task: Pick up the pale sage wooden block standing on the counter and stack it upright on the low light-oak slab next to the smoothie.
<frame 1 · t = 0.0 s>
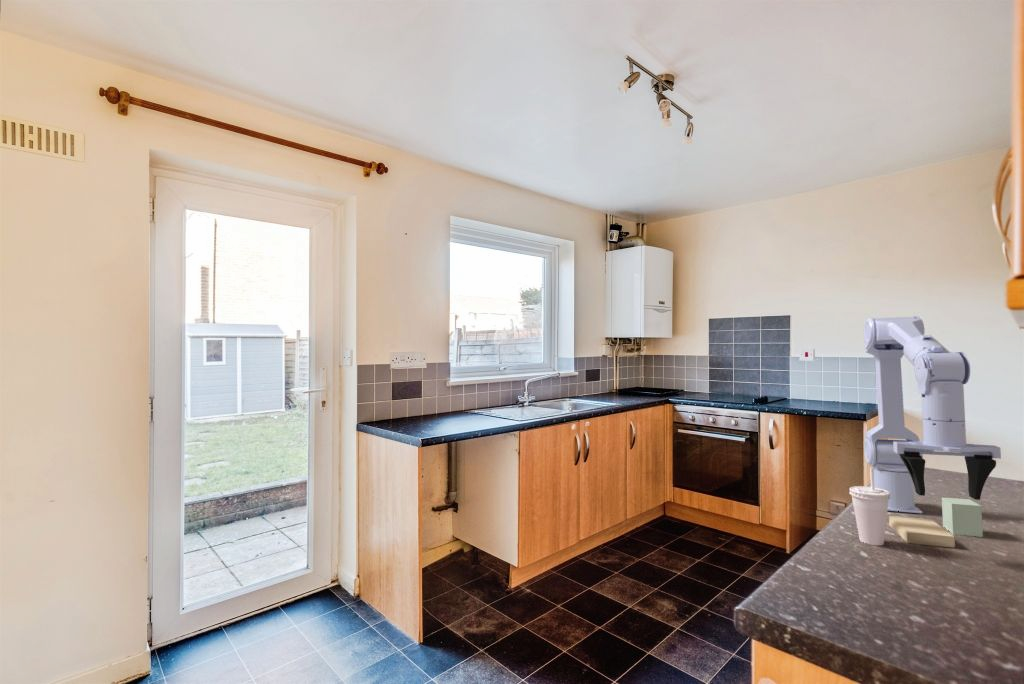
hand: (947, 496, 86), 10 cm above the counter, tool pointing down, fingers open, 7 cm apart
oak slab: (920, 535, 94), on the counter
sage block: (962, 532, 96), on the counter
smoothie: (871, 542, 92), on the counter
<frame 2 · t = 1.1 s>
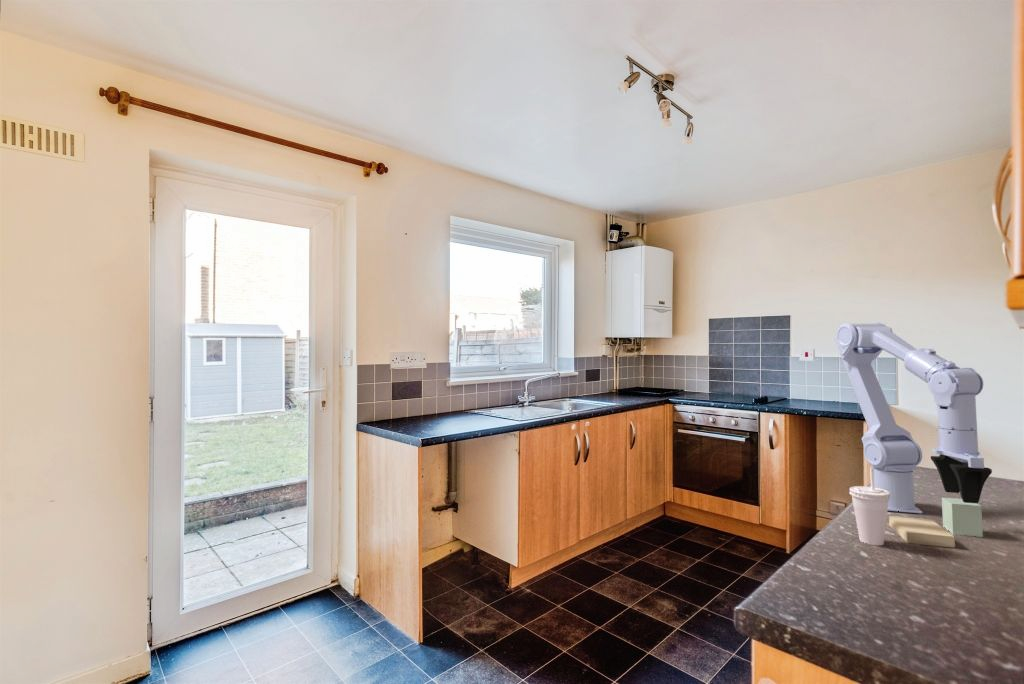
hand: (961, 497, 96), 7 cm above the counter, tool pointing down, fingers open, 7 cm apart
nothing on the counter moved.
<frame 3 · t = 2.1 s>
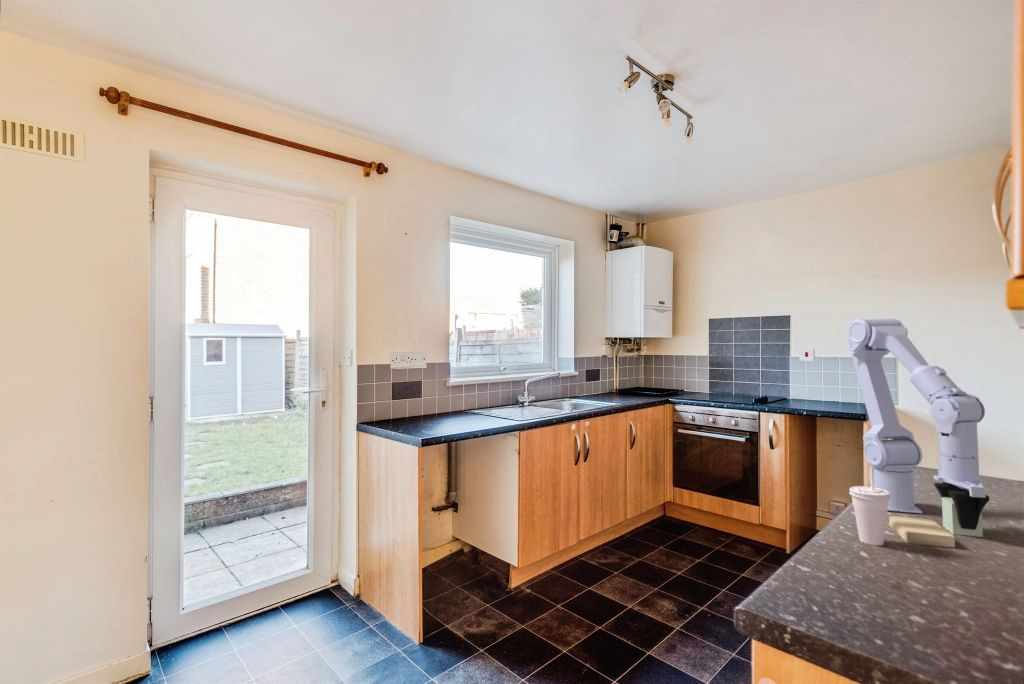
hand: (961, 524, 96), 1 cm above the counter, tool pointing down, fingers closed on sage block, 4 cm apart
sage block: (962, 531, 96), on the counter, touching gripper
everything else where it was.
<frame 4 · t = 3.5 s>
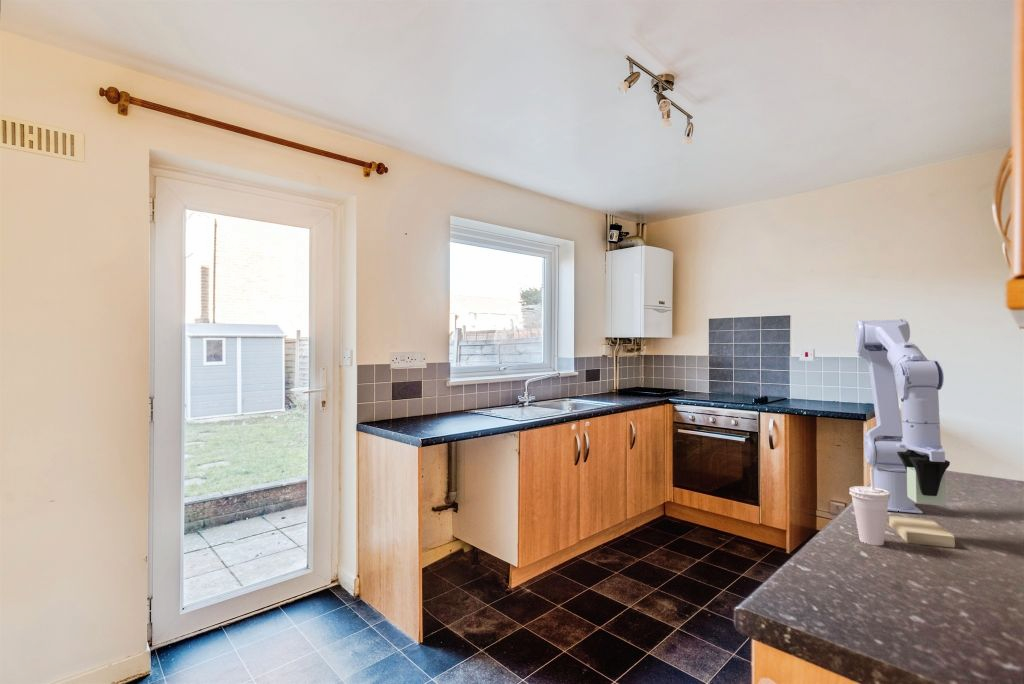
hand: (923, 491, 95), 8 cm above the counter, tool pointing down, fingers closed on sage block, 4 cm apart
sage block: (926, 501, 95), point 7 cm above the counter, touching gripper
everything else where it was.
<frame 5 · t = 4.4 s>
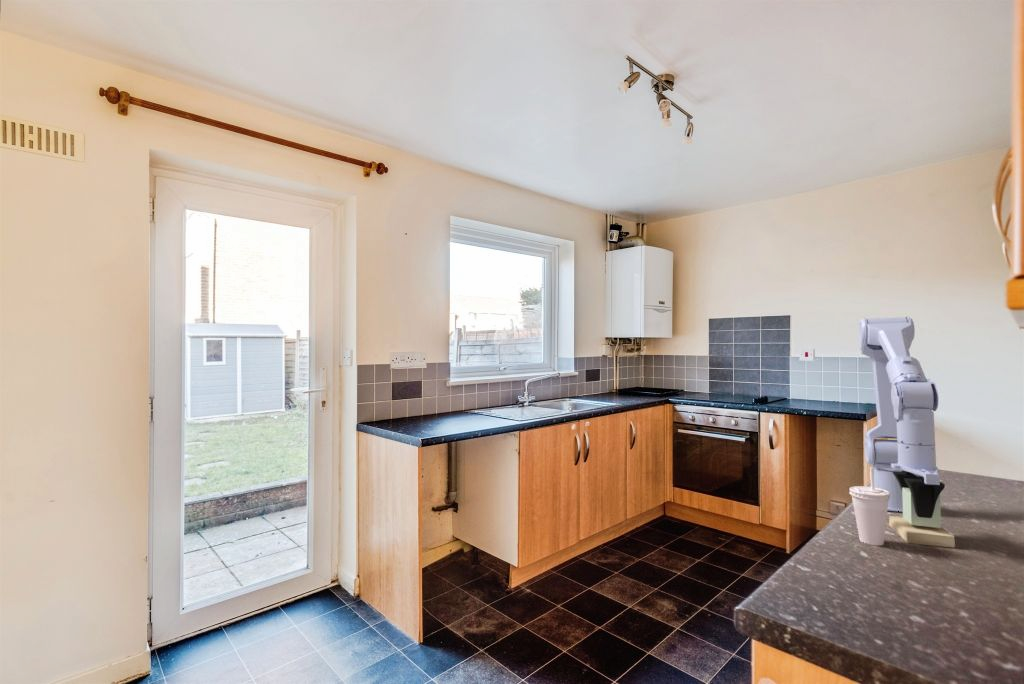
hand: (919, 513, 95), 4 cm above the counter, tool pointing down, fingers closed on sage block, 4 cm apart
sage block: (921, 522, 94), point 3 cm above the counter, touching gripper
everything else where it was.
when the fingers open (4 cm above the counter, at t = 4.8 s): sage block stays where it is, resting on oak slab.
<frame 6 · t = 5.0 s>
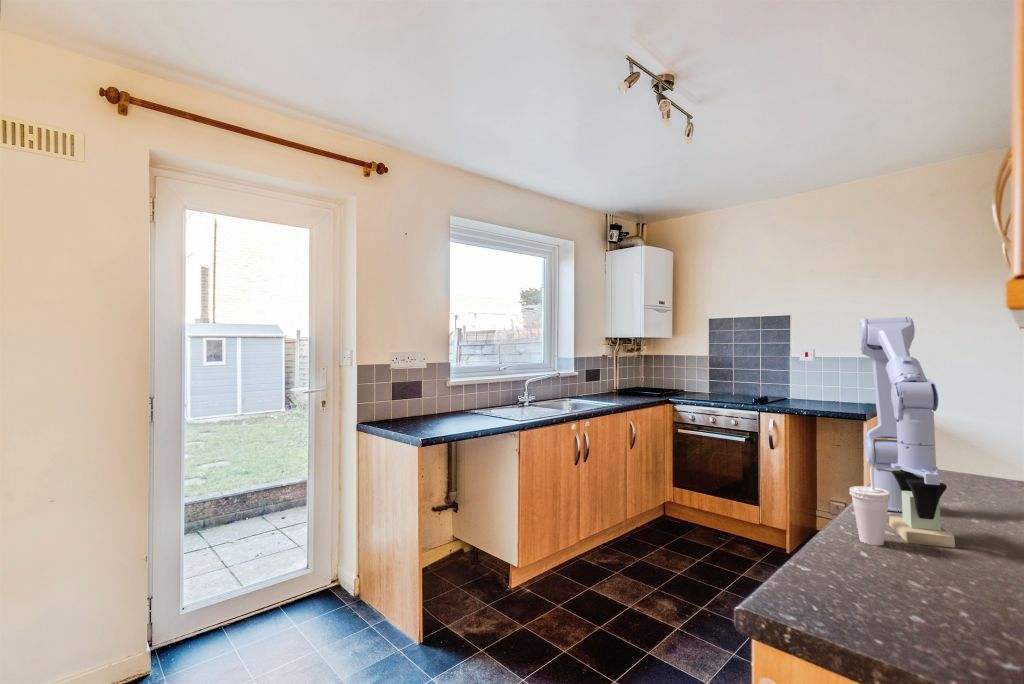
hand: (919, 513, 95), 4 cm above the counter, tool pointing down, fingers open, 6 cm apart
sage block: (921, 525, 94), point 2 cm above the counter, touching oak slab
everything else where it was.
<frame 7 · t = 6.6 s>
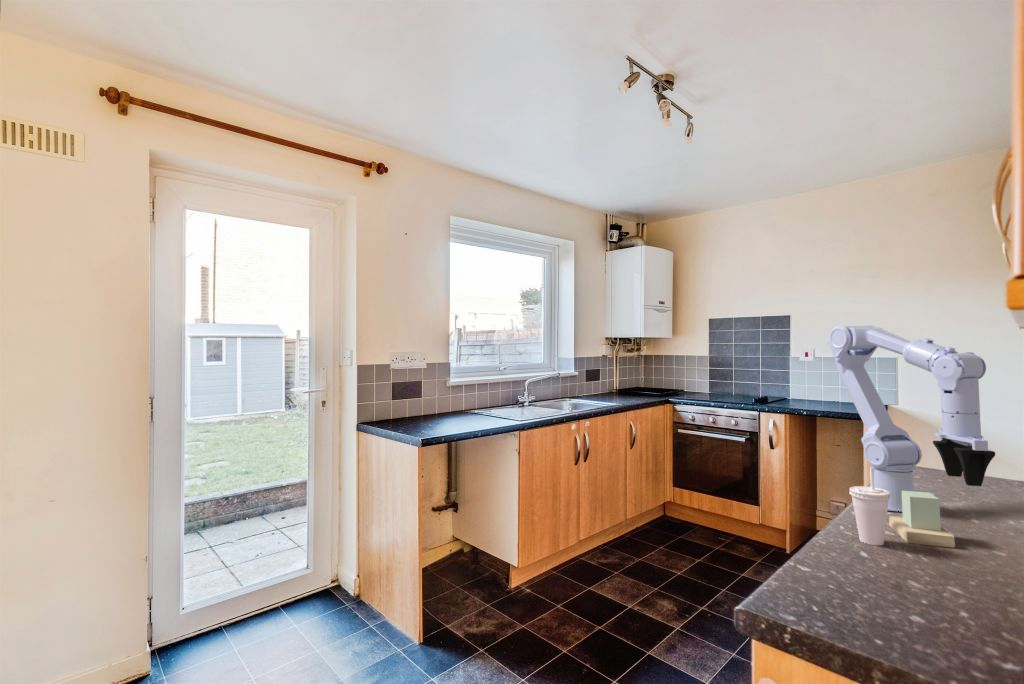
hand: (963, 480, 97), 10 cm above the counter, tool pointing down, fingers open, 7 cm apart
nothing on the counter moved.
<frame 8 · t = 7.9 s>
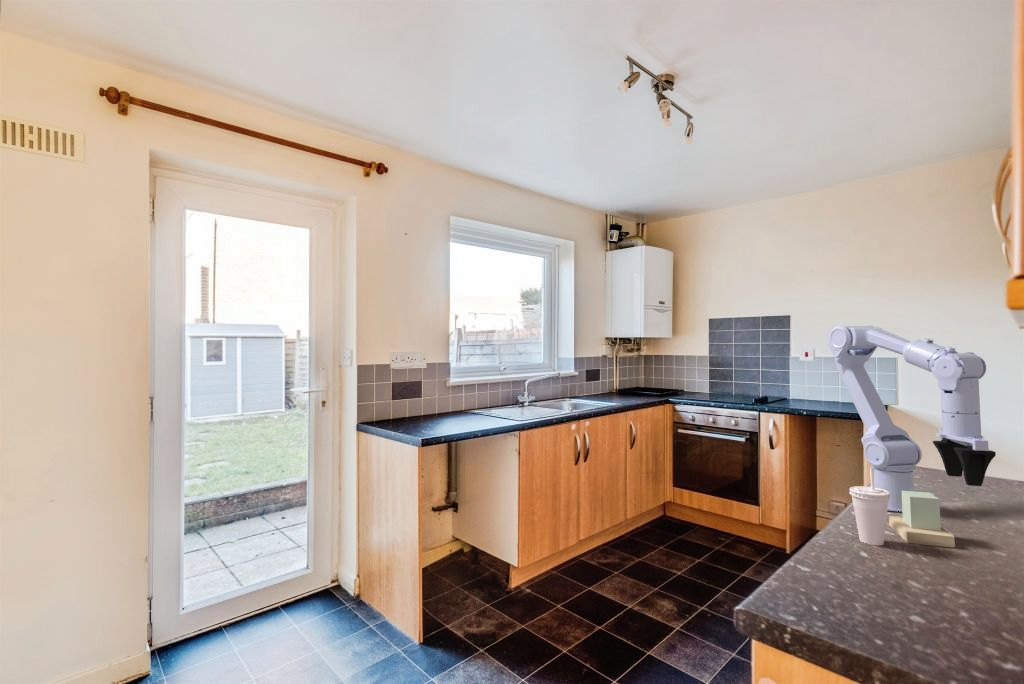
hand: (963, 480, 97), 10 cm above the counter, tool pointing down, fingers open, 7 cm apart
nothing on the counter moved.
at the end: sage block 0.3 cm off-centre on the oak slab, point 2.0 cm above the oak slab's base; sage block tilted 0°; the gripper is holding nothing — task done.
